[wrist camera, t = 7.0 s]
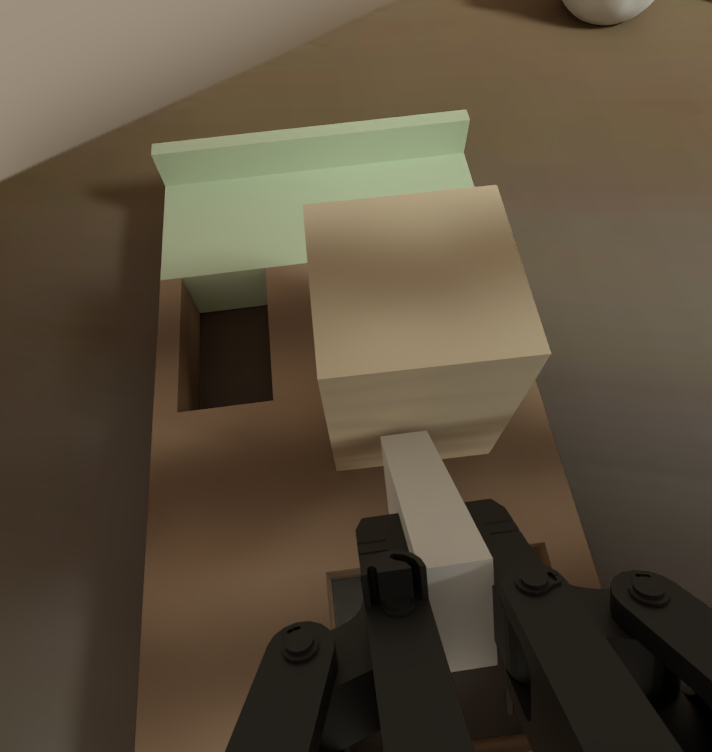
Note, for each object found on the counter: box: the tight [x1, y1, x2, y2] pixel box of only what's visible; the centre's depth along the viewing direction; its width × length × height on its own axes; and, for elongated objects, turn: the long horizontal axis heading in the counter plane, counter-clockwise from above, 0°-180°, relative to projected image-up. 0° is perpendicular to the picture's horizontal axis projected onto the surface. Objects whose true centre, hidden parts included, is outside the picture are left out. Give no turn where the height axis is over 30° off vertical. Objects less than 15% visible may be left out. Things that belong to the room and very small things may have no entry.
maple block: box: [303, 185, 551, 471], centre depth 18 cm, size 6×6×8 cm
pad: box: [151, 110, 474, 313], centre depth 27 cm, size 7×16×5 cm, turn 97°
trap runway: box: [135, 263, 602, 752], centre depth 22 cm, size 21×16×3 cm
